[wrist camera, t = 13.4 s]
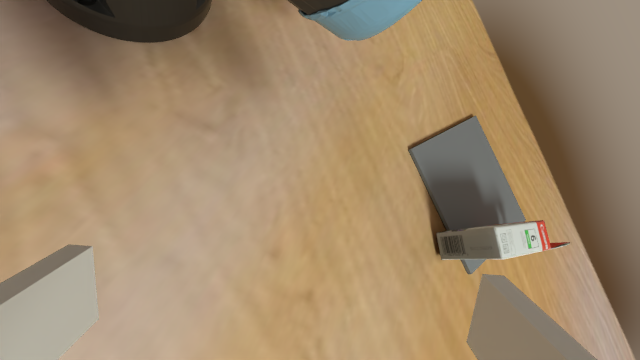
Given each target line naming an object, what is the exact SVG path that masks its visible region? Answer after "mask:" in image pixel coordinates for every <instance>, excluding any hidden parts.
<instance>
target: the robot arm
mask: <svg viewBox="0 0 640 360" xmlns="http://www.w3.org/2000/svg"><path fill="white" fill-rule="evenodd" d="M47 1H48V2H49V3H50V4H51V5H52V6H54V7H55V8H56V9H57V10H59V11H60V12H61V13H63V14H64V15H65V16H67V17H68V18H70V19H72V20H73V21H75V22H77V23H78V24H80V25H82V26H84V27H86V28H88V29H90V30H93V31H95V32H98V33H100V34H103V35H106V36H109V37H112V38H117V39H121V40H126V41H133V42H149V43H150V42H162V41H168V40H172V39H176V38H179V37H181V36H183V35H186V34H187V33H189V32H191V31H192V30H194V29H195V28H196V27H197V26H198V25H199V24H201V22H202V21H203V20H204V18H205V17H206V15H207V13H208V11H209V9H210V6H211V2H212V0H47ZM288 1H289V2H290V3H292V4H293V5H294V6H296V7H297V8H298V9H299V10H298V11H299V13H300V14H301V15H302V16H303V17H304V18H307V19H310V20H314V21H316V22H317V23H319V24H320V25H322V26H323V27H324V28H326V29H327V30H329V31H330V32H332V33H333V34H335V35H336V36H338V37H339V38H341V39H344V40H357V41H359V40H364V39H367V38H370V37H372V36H375V35H377V34H379V33H380V32H382V31H384V30H385V29H387V28H388V27H390V26H391V25H393V24H394V23H396V22H397V21H398V20H400V19H401V18H402V17H403V16H405V15H406V14H407V13H408V12H410V11H411V10H412V9H413V8H414V7H415V6H416V5H417V4H419V3H420V2H421V1H422V0H288ZM98 319H99V314H98V303H97V292H96V280H95V269H94V258H93V246H82V245H67V246H65V247H63V248H62V249H60V250H58V251H56V252H55V253H53V254H51V255H49V256H48V257H46V258H44V259H42V260H41V261H39V262H37V263H35V264H34V265H32V266H30V267H28V268H26V269H25V270H23V271H21V272H19V273H18V274H16V275H14V276H12V277H11V278H9V279H7V280H5V281H4V282H2V283H0V360H58V359H59V358H60V357H61V356H62V355H63V354H64V353H65V352H66V351H67V350H68V349H69V348H70V347H71V346H72V345H73V344H74V343H75V342H76V341H77V340H78V339H79V338H80V337H81V336H82V335H83V334H84V333H85V332H86V331H87V330H88V329H89V328H90V327H91V326H92V325H93V324H94V323H95V322H96V321H97V320H98ZM467 343H468V345H469V347H470V348H471V350H472V351H473V353H474V354H475V356H476V357H477V359H478V360H597V359H596V358H595V357H594V356H593V355H591V354H590V353H589V352H588V351H587V350H586V349H585V348H584V347H583V346H581V345H580V344H579V343H578V342H577V341H576V340H575V339H574V338H573V337H571V336H570V335H569V334H568V333H567V332H566V331H565V330H564V329H563V328H561V327H560V326H559V325H558V324H557V323H556V322H555V321H554V320H553V319H551V318H550V317H549V316H548V315H547V314H546V313H545V312H544V311H543V310H541V309H540V308H539V307H538V306H537V305H536V304H535V303H534V302H533V301H531V300H530V299H529V298H528V297H527V296H526V295H525V294H524V293H523V292H521V291H520V290H519V289H518V288H517V287H516V286H515V285H514V284H513V283H511V282H510V281H509V280H508V279H507V278H506V277H505V276H501V275H487V274H482V278H481V282H480V286H479V291H478V295H477V299H476V303H475V308H474V312H473V316H472V321H471V325H470V329H469V334H468V338H467Z"/></svg>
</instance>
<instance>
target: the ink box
mask: <svg viewBox="0 0 640 360" xmlns="http://www.w3.org/2000/svg"><path fill="white" fill-rule="evenodd" d="M437 239H438V245H439V250H440V255H441V260H451V259H508V258H513V257H517V256H522V255H527V254H531V253H536V252H541V251H545V250H550V249H554V248H558V247H562V246H566V245H568V244H570V242H564V243H550V242H549V238H548V234H547V230H546V226H545V222H544V221H543V220H542V221H530V222H519V223H508V224H498V225H489V226H482V227H474V228H464V229H457V230H450V231H444V232H439V233H437Z"/></svg>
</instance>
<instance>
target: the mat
mask: <svg viewBox="0 0 640 360" xmlns="http://www.w3.org/2000/svg"><path fill="white" fill-rule="evenodd" d="M409 152H410V155H411V157H412V159H413V161H414V163H415V165H416V167H417V169H418V171H419V173H420V175H421V177H422V180H423V182H424V184H425V186H426V188H427V190H428V192H429V194H430V196H431V198H432V200H433V202H434V205H435V207H436V209H437V211H438V213H439V215H440V217H441V219H442V221H443V223H444V225H445V227H446V229H447V231H450V230H457V229H464V228H474V227H482V226H489V225H498V224H508V223H519V222H524V221H525V220H526V219H525V217H524V215H523V213H522V211H521V209H520V207H519V205H518V203H517V200H516V198H515V196H514V194H513V192H512V190H511V188H510V186H509V184H508V182H507V180H506V178H505V175H504V173H503V171H502V169H501V167H500V165H499V163H498V161H497V159H496V157H495V155H494V153H493V150H492V148H491V146H490V144H489V142H488V140H487V138H486V136H485V134H484V132H483V130H482V128H481V125H480V123H479V121H478V119H477V117H476V116H474V117H472V118H470V119H468V120H466V121H464V122H462V123H460V124H458V125H456V126H454V127H452V128H450V129H449V130H447V131H445V132H443V133H441V134H439V135H437V136H435V137H433V138H431V139H429V140H427V141H425V142H423V143H421V144H419V145H417V146H416V147H414V148H412V149H410V150H409ZM485 260H486V259H461V261H462V263H463V265H464V267H465V269H466V271H467V273H468V274H472V273H473V272H474V271H475V270H476V269H477V268H478V267H479V266H480V265H481V264H482V263H483V262H484V261H485Z"/></svg>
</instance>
